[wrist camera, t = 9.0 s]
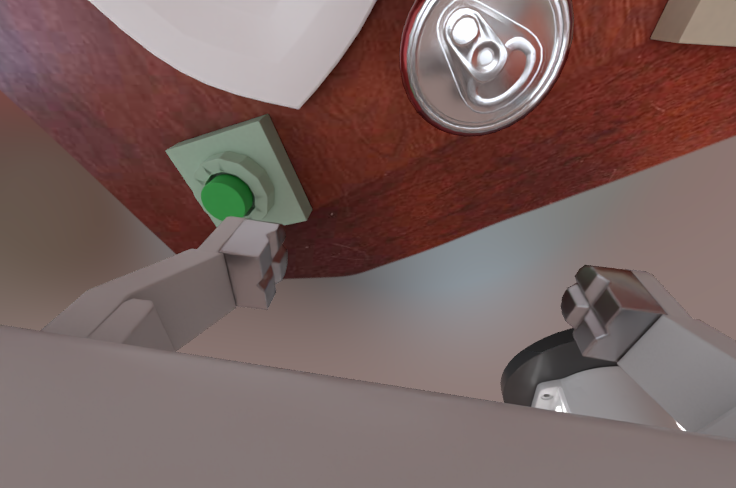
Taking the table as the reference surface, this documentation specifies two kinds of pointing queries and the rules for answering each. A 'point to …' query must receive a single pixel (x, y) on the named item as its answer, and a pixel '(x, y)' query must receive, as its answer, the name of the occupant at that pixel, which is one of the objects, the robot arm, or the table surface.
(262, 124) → the block
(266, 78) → the plate
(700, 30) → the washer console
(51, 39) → the table surface
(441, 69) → the soda can
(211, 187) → the button
